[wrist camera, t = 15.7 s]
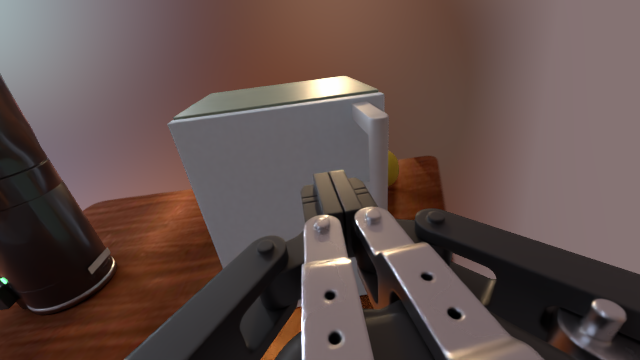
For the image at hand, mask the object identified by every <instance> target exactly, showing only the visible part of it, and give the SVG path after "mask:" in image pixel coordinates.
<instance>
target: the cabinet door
mask: <svg viewBox="0 0 640 360" xmlns="http://www.w3.org/2000/svg"><path fill="white" fill-rule="evenodd" d="M388 123H389V116H388V115H387V114H386V113H384V94H383V93H381V92H378V93H370V94H363V95H356V96H348V97H341V98H334V99H326V100H319V101H312V102H304V103H297V104H290V105H282V106H275V107H268V108H260V109H253V110H246V111H238V112H231V113H224V114H216V115H209V116H202V117H194V118H187V119H180V120H173V121H171V122H170V123H168V127H169V129H170V132H171V134H172V137H173V140H174V142H175V145H176V147H177V150H178V153H179V155H180V158H181V160H182V163H183V166H184V168H185V171H186V173H187V176H188V179H189V181H190V183H191V186H192V189H193V191H194V194H195V197H196V199H197V202H198V204H199V207H200V210H201V212H202V215H203V217H204V220H205V223H206V225H207V228H208V230H209V233H210V236H211V238H212V241H213V243H214V246H215V249H216V251H217V254H218V256H219V259H220V262H221V264H222V267H223V269H224V268H225V267H226V266H227V265H228V264H229V263H230V262H231V261H233V260H234V259H235V258H236V257H237V256H238V255H239V254H240V253H241V252H242V251H244V250H245V249H246V248H247V247H248V246H249V245H250V244H251V243H252V242H254V241H255V240H257V239H259V238H261V237H265V236H279V237H281V238H283V239H284V240H285V242H286V241H288V240H291V239H293V238H295V237H296V236H298V235H299V234H300V233H301V232H302V231H303V230H304V225H305V220H304V213H303V206H302V199H301V193H300V191H301V190H302V188H303V186H305V185H311V184H314V181H313V174H317V173H324V172H330V171H336V170H344V171H345V173H346V175H347V177H348V178H354V177H356V178H357V179H359V180H361V181H363V183H364V185H365V186H366V188H367V189H368V191H369V193H370V194H371V196H372V197H373V199H374V201H375V202H376V204H377V205H378V207H379V208H383V209H385V210H387V204H388V128H389V127H388V126H389V124H388ZM350 259H351V262H352V267H353V271H354V275H355V279H356V284H357V288H358V292H359V296H361V295H366V294H367V292H366V290H365V288H364V286H363V284H362V281H361V279H360V277H359V275H358V272H357V261H356V258H355V257H352V258H350ZM301 306H302V299H300V300H298V304H297V307H301Z"/></svg>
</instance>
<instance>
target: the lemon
mask: <svg viewBox="0 0 640 360" xmlns="http://www.w3.org/2000/svg"><path fill="white" fill-rule="evenodd" d="M398 174H399V165H398V161H397V158H396V157H395V155H394V154H393V153H391V152H390V151H388V186H390V185H392V184H393V183H394V182H395V181H396V179H397V177H398Z"/></svg>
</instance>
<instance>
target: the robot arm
mask: <svg viewBox="0 0 640 360" xmlns="http://www.w3.org/2000/svg"><path fill="white" fill-rule="evenodd" d="M313 181H314V184H311V185H305V186H303V188H302V190H301V191H300V193H301V199H302V206H303V213H304V220H305V225H304V230H303V231H302V232H301V233H300V234H299V235H298V236H296V237H295V238H293V239H291V240H288V241H286V242H285V240H284V239H283V238H281V237H279V236H265V237H261V238H259V239H257V240H255V241H254V242H252V243H251V244H250V245H249V246H248V247H247V248H246V249H245V250H244V251H242V252H241V253H240V254H239V255H238V256H237V257H236V258H235V259H234V260H233V261H231V262H230V263H229V264H228V265H227V266H226V267H225V268H224V269H223V270H222V271H221V272H219V273H218V274H217V275H216V276H215V277H214V278H213V279H212V280H211V281H210V282H208V283H207V284H206V285H205V286H204V287H203V288H202V289H201V290H200V291H199V292H197V293H196V294H195V295H194V296H193V297H192V298H191V299H190V300H189V301H188V302H186V303H185V304H184V305H183V306H182V307H181V308H180V309H179V310H178V311H177V312H175V313H174V314H173V315H172V316H171V317H170V318H169V319H168V320H167V321H166V322H165V323H163V324H162V325H161V326H160V327H159V328H158V329H157V330H156V331H155V332H154V333H152V334H151V335H150V336H149V337H148V338H147V339H146V340H145V341H144V342H143V343H141V344H140V345H139V346H138V347H137V348H136V349H135V350H134V351H133V352H132V353H130V354H129V355H128V356H127V357H126V358H125V359H124V360H260V359H261V358H262V356H263V355H264V354H265V352H266V351H267V349H268V348H269V346H270V345H271V343H272V342H273V341H274V339H275V338H276V336H277V335H278V333H279V332H280V330H281V329H282V328H283V326H284V325H285V323H286V322H287V320H288V319H289V317H290V316H291V315H292V313H293V312H294V310H295V309H296V307H297V304H298V300H300V299H302V331H301V332H300V333H298V334H297V335H296V336H295V337H293V338H292V339H291V340H290V341H289V342H288V343H287V344H286V345H285V346H284V347H283V349H282V350H281V351H280V352H279V354H278V355H277V357H276V358H275V360H640V274H637V273H633V272H630V271H628V270H624V269H621V268H618V267H615V266H612V265H609V264H606V263H603V262H600V261H597V260H593V259H591V258H587V257H585V256H581V255H578V254H575V253H572V252H569V251H566V250H563V249H560V248H557V247H554V246H551V245H548V244H545V243H542V242H539V241H536V240H532V239H529V238H526V237H523V236H520V235H517V234H514V233H511V232H508V231H505V230H502V229H499V228H495V227H492V226H490V225H487V224H483V223H480V222H477V221H474V220H471V219H468V218H465V217H462V216H459V215H456V214H453V213H450V212H447V211H444V210H440V209H424V210H421V211H419V212H418V213H417V214H416V216H415V220H401V219H395V218H394V217H393V216H392V215H391V214H390V213H389V212H388V211H387V210H385V209H383V208H379V207H378V205H377V204H376V202H375V201H374V199H373V197H372V196H371V194H370V193H369V191H368V189H367V188H366V186H365V185H364V183H363V181H361V180H359V179H357V178H356V177H354V178H348V177H347V175H346V173H345V171H344V170H336V171H330V172H324V173H317V174H313ZM110 253H111V252H110V251H109V249H108V248H105V246H104V245H103V243H102V241H101V240H100V238H99V236H98V235H97V233H96V232H95V230H94V229H93V227H92V225H91V224H90V222H89V221H88V219H87V218H86V216H85V215H84V213H83V211H82V210H81V208H80V207H79V205H78V204H77V202H76V200H75V199H74V197H73V196H72V195H71V193H70V191H69V190H68V188H67V186H66V185H65V183H64V182H63V180H62V179H61V177H60V176H59V174H58V173H57V171H56V170H55V168H54V166H53V165H52V163H51V162H50V160H49V158H47V155H46V154H45V152H44V151H43V150H42V148H41V146H40V144H39V142H38V140H37V138H36V136H35V134H34V132H33V130H32V128H31V126H30V124H29V123H28V121H27V120H26V118H25V117H24V115H23V113H22V112H21V110H20V108H19V107H18V105H17V103H16V101H15V99H14V98H13V96H12V94H11V92H10V91H9V89H8V87H7V85H6V83H5V81H4V79H3V78H2V76H1V74H0V310H3V309H9V308H10V307H11V306H12V305H13V304H14V303H15V302H17V303H18V304H19V305H20V307H21V308H22V309H30V310H31V311H32V312H33V313H35V314H39V315H45V314H51V313H56V312H59V311H62V310H65V309H67V308H70V307H72V306H74V305H76V304H78V303H80V302H82V301H84V300H85V299H87V298H88V297H90V296H91V295H93V294H94V293H96V292H97V291H98V290H100V289H101V288H102V287H103V286H104V285H105V284H106V283H107V282H108V281H109V280H110V279H111V278H112V276H113V275H114V273H115V271H116V268H117V264H116V262H115V260H114V259H113V257H112V256H110ZM452 253H455V254H457V255H460V256H462V257H464V258H467V259H469V260H472V261H474V262H477V263H479V264H481V265H483V266H486V267H488V268H489V269H491V270H492V271H493V272H494V274H495V275H496V279H490V278H487V277H485V276H483V275H480V274H478V273H476V272H474V271H471V270H469V269H467V268H465V267H462V266H460V265H458V264H456V263H453V262H451V258H452ZM352 257H355V258H356V261H357V272H358V275H359V277H360V279H361V281H362V284H363V286H364V288H365V290H366V292H367V295H368V297H369V299H370V301H371V303H372V306H373V308H374V309H362V305H361V301H360V297H359V292H358V288H357V284H356V279H355V275H354V271H353V267H352V262H351V259H350V258H352Z"/></svg>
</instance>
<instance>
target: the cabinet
mask: <svg viewBox="0 0 640 360" xmlns="http://www.w3.org/2000/svg"><path fill="white" fill-rule="evenodd" d="M370 93H378V89H376V88H373V87H371V86H368V85H366V84H364V83H361V82H359V81H356V80H354V79H351V78H349V77H347V76H340V77H333V78H325V79H317V80H310V81H302V82H295V83H288V84H280V85H272V86H265V87H257V88H249V89H242V90H235V91H227V92H219V93H212V94H210V95H208V96H207V97H205V98H203V99H202V100H200V101H199V102H197V103H195V104H194V105H192V106H191V107H189V108H188V109H186V110H185V111H183V112H181V113H180V114H178V115H177V116H175V117H173V119H174V120H180V119H187V118H194V117H202V116H209V115H216V114H224V113H231V112H238V111H246V110H253V109H260V108H268V107H275V106H282V105H290V104H297V103H304V102H312V101H319V100H326V99H334V98H341V97H348V96H356V95H363V94H370Z"/></svg>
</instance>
